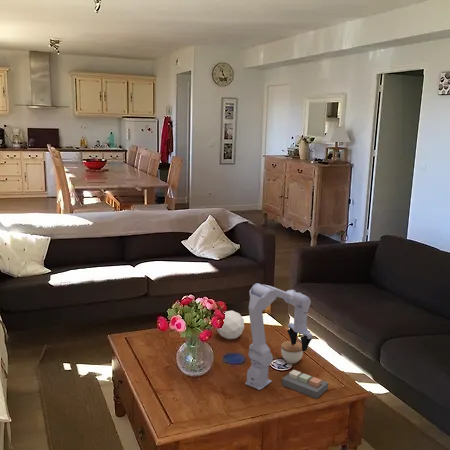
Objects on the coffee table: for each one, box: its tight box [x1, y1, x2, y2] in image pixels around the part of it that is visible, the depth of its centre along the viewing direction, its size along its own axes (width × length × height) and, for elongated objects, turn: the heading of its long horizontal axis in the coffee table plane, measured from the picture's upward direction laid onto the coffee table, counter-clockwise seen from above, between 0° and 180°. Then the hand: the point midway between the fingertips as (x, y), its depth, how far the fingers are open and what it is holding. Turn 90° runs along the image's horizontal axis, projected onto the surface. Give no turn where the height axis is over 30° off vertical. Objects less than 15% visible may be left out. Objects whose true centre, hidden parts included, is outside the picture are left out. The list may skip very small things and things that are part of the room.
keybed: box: [281, 372, 329, 399], centre depth 219 cm, size 10×17×3 cm, turn 52°
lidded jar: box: [280, 340, 304, 364], centre depth 242 cm, size 11×11×9 cm
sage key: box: [299, 372, 312, 384], centre depth 218 cm, size 4×4×3 cm
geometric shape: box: [216, 310, 245, 340], centre depth 265 cm, size 14×15×15 cm
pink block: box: [309, 376, 323, 388], centre depth 215 cm, size 4×4×3 cm
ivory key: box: [288, 369, 302, 380], centre depth 221 cm, size 4×4×3 cm
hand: (298, 347), depth 234 cm, fingers open, 7 cm apart
